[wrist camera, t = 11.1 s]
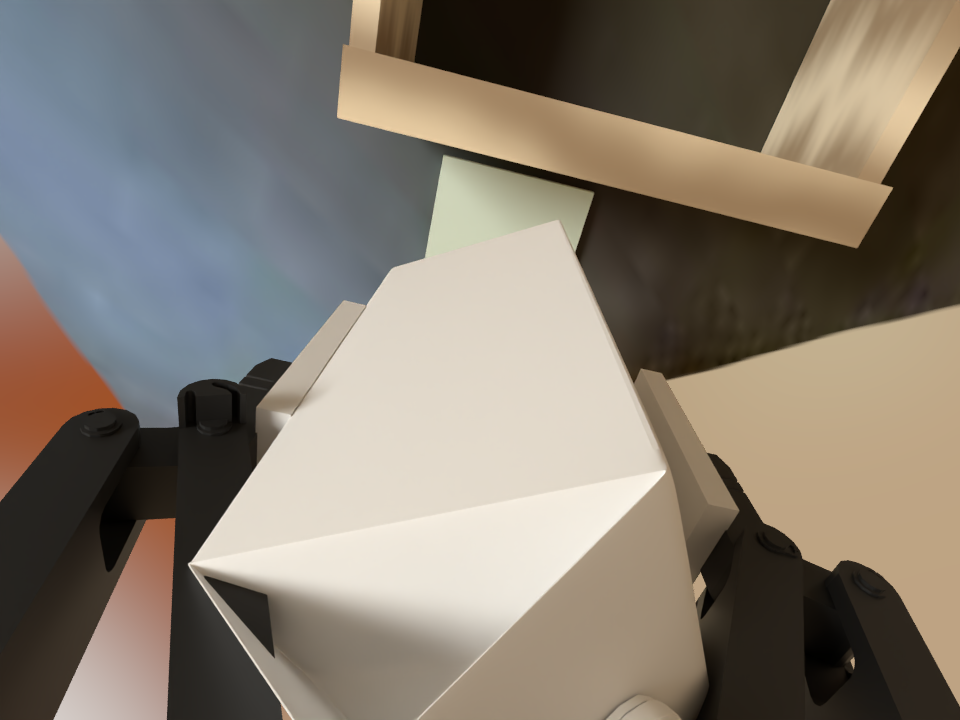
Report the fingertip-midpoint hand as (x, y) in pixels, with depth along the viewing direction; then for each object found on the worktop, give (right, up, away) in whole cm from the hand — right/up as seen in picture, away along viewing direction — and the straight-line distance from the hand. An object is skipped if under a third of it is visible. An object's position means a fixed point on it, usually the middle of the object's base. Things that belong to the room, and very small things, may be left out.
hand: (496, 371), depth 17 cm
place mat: (+1, +8, +14) cm, 16 cm away
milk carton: (0, +2, +4) cm, 5 cm away
